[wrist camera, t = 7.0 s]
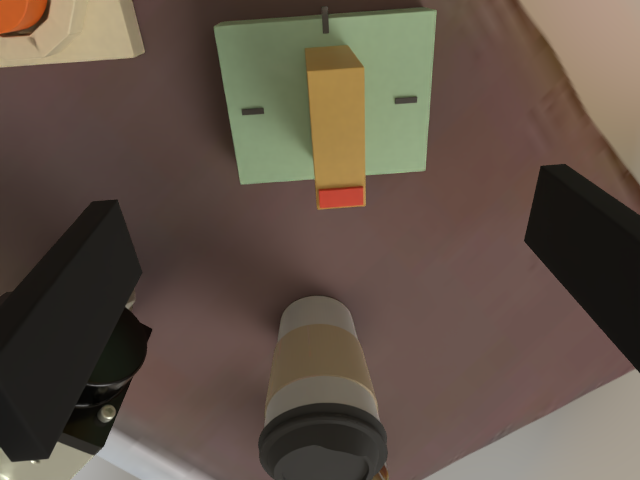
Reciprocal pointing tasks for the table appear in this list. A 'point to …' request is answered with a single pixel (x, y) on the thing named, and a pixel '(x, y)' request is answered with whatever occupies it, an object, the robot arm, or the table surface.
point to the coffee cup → (320, 399)
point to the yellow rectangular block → (337, 125)
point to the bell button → (20, 14)
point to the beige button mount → (75, 34)
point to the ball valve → (91, 406)
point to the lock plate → (292, 90)
